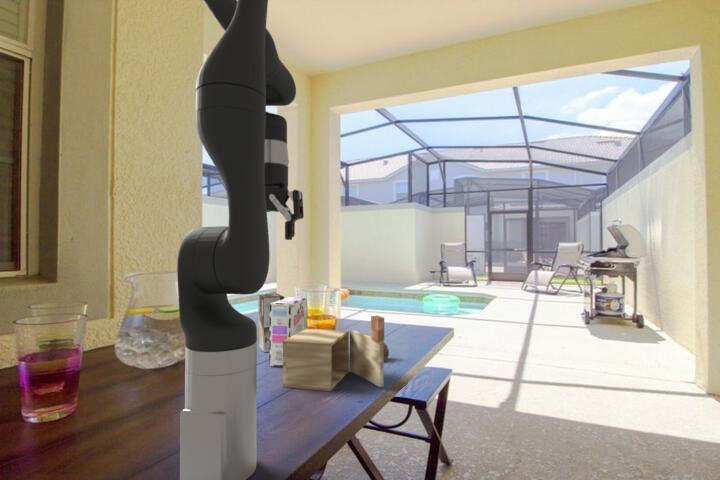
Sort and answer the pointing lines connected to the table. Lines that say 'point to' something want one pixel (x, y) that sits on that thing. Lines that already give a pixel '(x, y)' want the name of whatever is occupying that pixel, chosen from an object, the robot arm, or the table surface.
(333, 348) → the carton
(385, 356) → the lime
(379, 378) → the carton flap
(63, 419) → the table surface
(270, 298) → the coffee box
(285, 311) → the candy box
